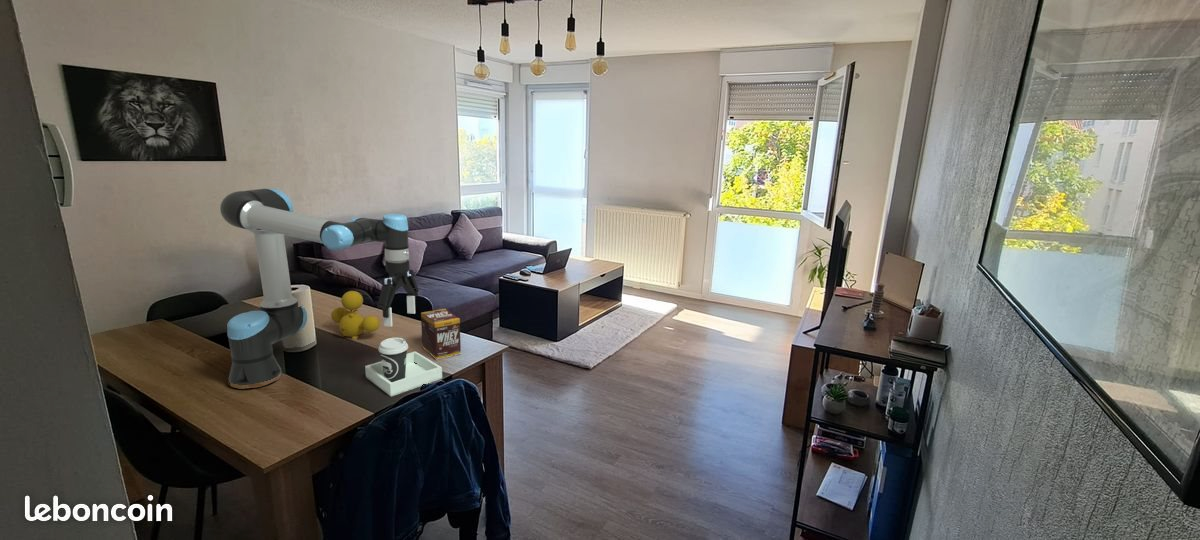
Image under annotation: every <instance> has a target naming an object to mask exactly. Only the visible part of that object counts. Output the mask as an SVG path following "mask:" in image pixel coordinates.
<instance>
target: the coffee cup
mask: <svg viewBox="0 0 1200 540" xmlns="http://www.w3.org/2000/svg"><path fill="white" fill-rule="evenodd" d="M408 349H409V344H408V343H407V342H406V339H404V338H402V337H389V338H386V339H383V340H382V341H381V342H380V344H379V346H378V349H377V350H378V352H379V353H380V354H379V355H380V359H381V361H382V366H383V372H384V377H385V378H386V379H388V380H389V381H390V382H395V381H398V380H401V379H404V378H405V373H406V355H407V354H408V353H407V351H408Z"/></svg>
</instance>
